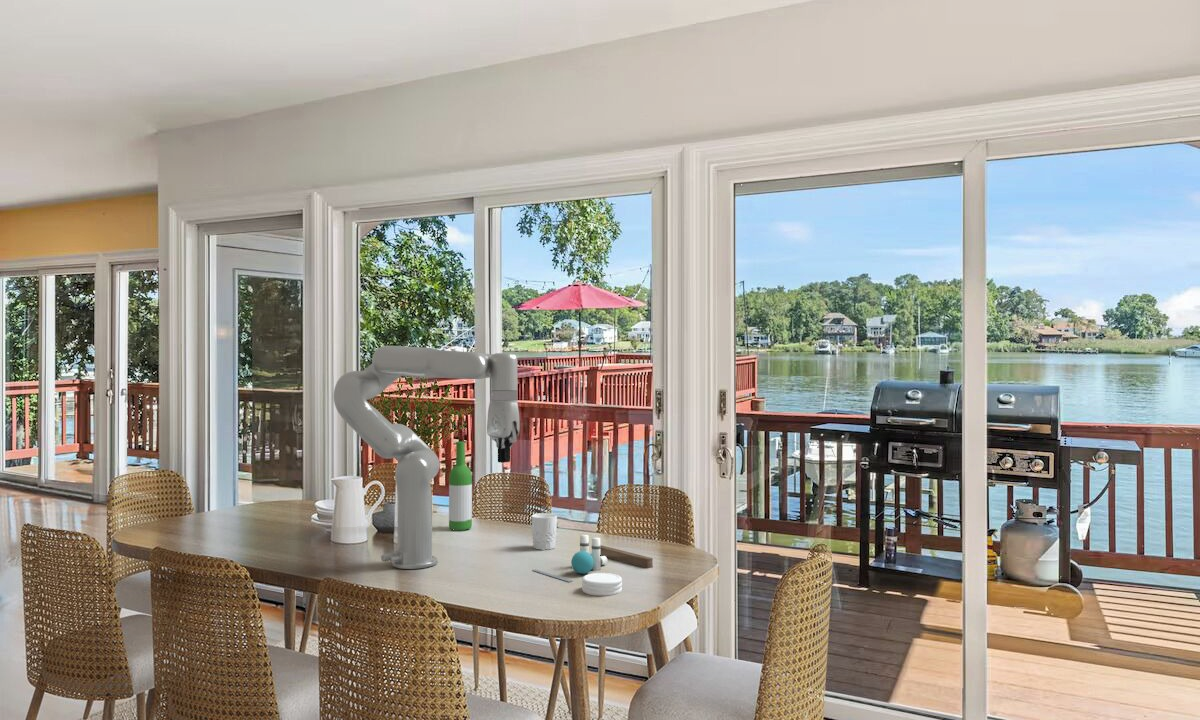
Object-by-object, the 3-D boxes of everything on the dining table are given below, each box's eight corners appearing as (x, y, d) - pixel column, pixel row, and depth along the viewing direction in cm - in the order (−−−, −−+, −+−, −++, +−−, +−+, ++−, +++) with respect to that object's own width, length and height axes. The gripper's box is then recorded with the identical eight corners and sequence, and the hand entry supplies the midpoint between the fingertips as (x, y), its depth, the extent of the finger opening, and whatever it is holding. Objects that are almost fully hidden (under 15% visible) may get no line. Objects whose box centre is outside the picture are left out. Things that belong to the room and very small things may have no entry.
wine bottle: (476, 528, 280) (476, 441, 280) (461, 532, 273) (461, 443, 274) (459, 526, 284) (459, 440, 284) (444, 529, 277) (444, 442, 278)
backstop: (647, 568, 225) (647, 559, 225) (595, 554, 241) (595, 546, 241) (652, 567, 226) (652, 558, 226) (600, 553, 242) (600, 545, 242)
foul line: (569, 582, 210) (569, 581, 210) (532, 570, 222) (532, 570, 222) (572, 581, 211) (572, 580, 211) (535, 570, 223) (535, 569, 223)
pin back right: (595, 571, 222) (595, 539, 222) (589, 569, 223) (589, 538, 224) (602, 569, 223) (602, 538, 223) (596, 567, 225) (596, 537, 225)
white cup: (543, 544, 255) (543, 512, 255) (562, 547, 250) (562, 515, 250) (526, 548, 249) (526, 515, 249) (544, 552, 244) (544, 518, 244)
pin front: (584, 562, 222) (607, 556, 228) (579, 559, 224) (601, 554, 230) (584, 571, 222) (607, 565, 228) (578, 568, 224) (601, 563, 230)
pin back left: (583, 567, 225) (583, 537, 225) (578, 565, 227) (578, 535, 227) (590, 566, 227) (590, 535, 227) (584, 564, 229) (584, 534, 229)
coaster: (574, 592, 201) (574, 578, 201) (596, 583, 210) (596, 570, 210) (607, 599, 196) (607, 584, 196) (629, 589, 204) (629, 575, 204)
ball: (589, 580, 219) (571, 575, 216) (581, 565, 224) (564, 561, 221) (600, 563, 217) (583, 558, 214) (593, 549, 222) (575, 544, 219)
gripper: (478, 396, 231) (478, 460, 231) (508, 398, 220) (508, 465, 220) (499, 395, 236) (499, 458, 236) (530, 397, 225) (530, 463, 225)
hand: (504, 461), depth 228 cm, fingers closed
